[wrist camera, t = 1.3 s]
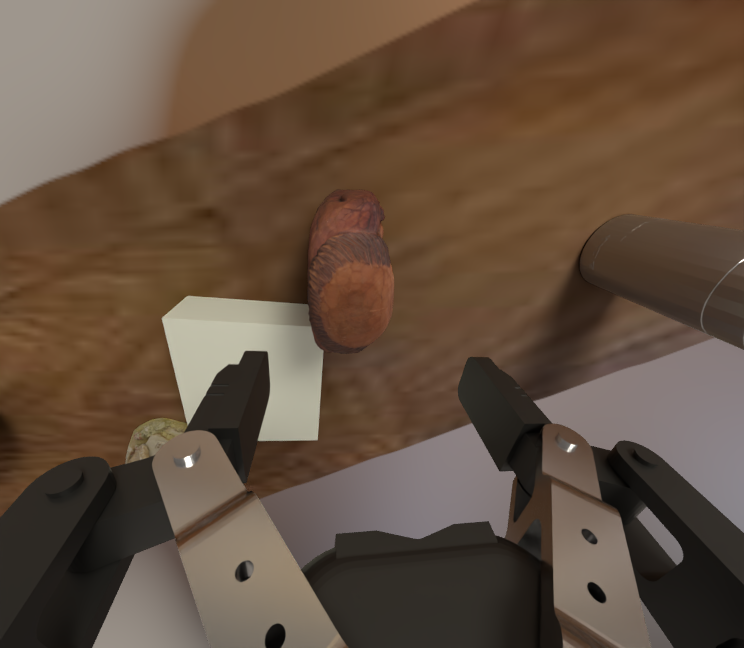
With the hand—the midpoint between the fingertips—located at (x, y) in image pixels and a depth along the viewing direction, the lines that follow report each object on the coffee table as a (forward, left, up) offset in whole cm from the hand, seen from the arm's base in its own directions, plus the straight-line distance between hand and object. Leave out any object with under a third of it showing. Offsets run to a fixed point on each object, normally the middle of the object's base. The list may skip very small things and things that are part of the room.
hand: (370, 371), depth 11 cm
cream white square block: (+10, +17, -24) cm, 31 cm away
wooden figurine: (0, 0, -24) cm, 24 cm away
